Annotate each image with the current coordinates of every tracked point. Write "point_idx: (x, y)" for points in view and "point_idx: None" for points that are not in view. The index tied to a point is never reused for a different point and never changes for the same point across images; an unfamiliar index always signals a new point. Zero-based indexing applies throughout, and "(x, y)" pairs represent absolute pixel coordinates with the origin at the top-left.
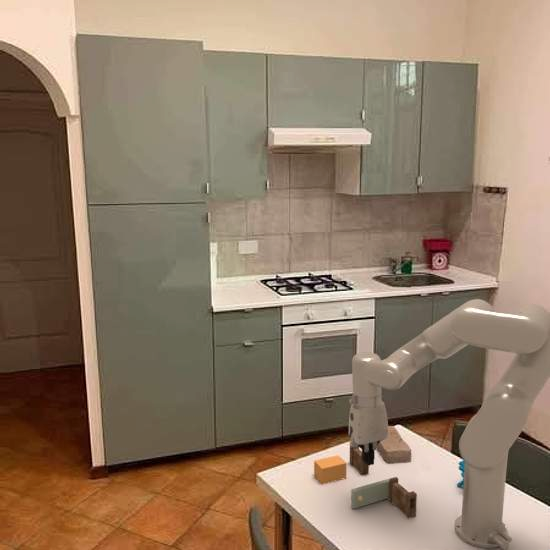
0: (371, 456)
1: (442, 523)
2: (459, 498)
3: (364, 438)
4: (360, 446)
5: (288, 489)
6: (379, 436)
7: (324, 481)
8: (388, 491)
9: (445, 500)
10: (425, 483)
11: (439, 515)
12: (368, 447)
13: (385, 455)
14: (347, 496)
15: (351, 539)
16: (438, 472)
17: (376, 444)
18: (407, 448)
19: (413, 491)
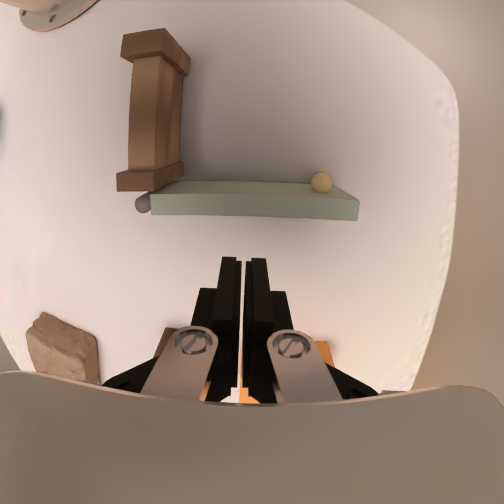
0: (240, 294)
1: (115, 14)
2: (12, 113)
3: (456, 465)
4: (370, 391)
5: (407, 348)
6: (93, 449)
7: (320, 346)
8: (172, 185)
9: (39, 113)
10: (41, 210)
11: (95, 48)
12: (275, 365)
13: (90, 358)
14: (302, 260)
15: (419, 75)
16: (4, 240)
17: (160, 367)
18: (31, 342)
19: (122, 53)
